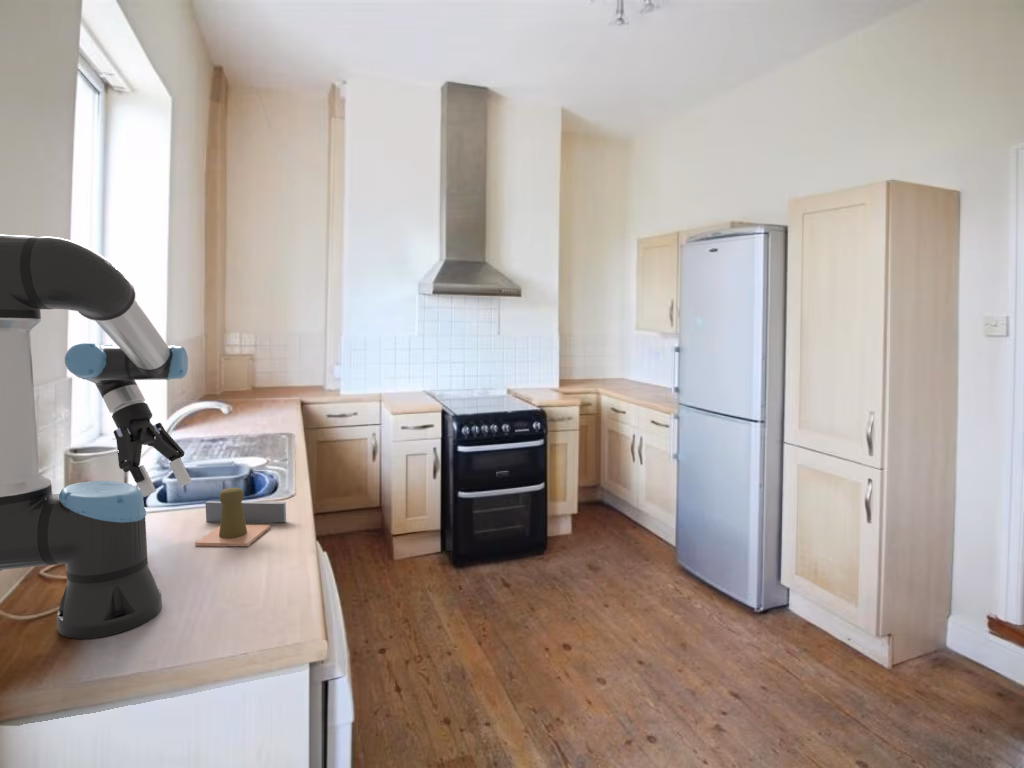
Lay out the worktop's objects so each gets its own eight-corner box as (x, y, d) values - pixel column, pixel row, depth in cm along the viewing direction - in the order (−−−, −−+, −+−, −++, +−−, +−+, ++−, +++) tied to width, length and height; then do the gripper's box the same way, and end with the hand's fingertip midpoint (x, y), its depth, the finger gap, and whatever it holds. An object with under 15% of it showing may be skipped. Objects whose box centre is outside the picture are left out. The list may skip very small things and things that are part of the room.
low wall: (284, 522, 151) (283, 503, 151) (206, 521, 152) (205, 502, 151) (286, 521, 152) (285, 502, 152) (208, 520, 153) (207, 501, 152)
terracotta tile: (247, 546, 135) (247, 543, 135) (195, 545, 136) (195, 542, 136) (269, 528, 147) (269, 525, 147) (221, 527, 148) (221, 524, 147)
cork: (252, 530, 144) (250, 485, 143) (238, 539, 138) (236, 493, 137) (228, 528, 144) (226, 484, 143) (213, 538, 138) (211, 491, 137)
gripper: (149, 413, 152) (186, 487, 152) (73, 418, 127) (117, 506, 127) (174, 399, 152) (212, 473, 152) (103, 402, 127) (147, 490, 127)
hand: (169, 489), depth 139 cm, fingers open, 13 cm apart
